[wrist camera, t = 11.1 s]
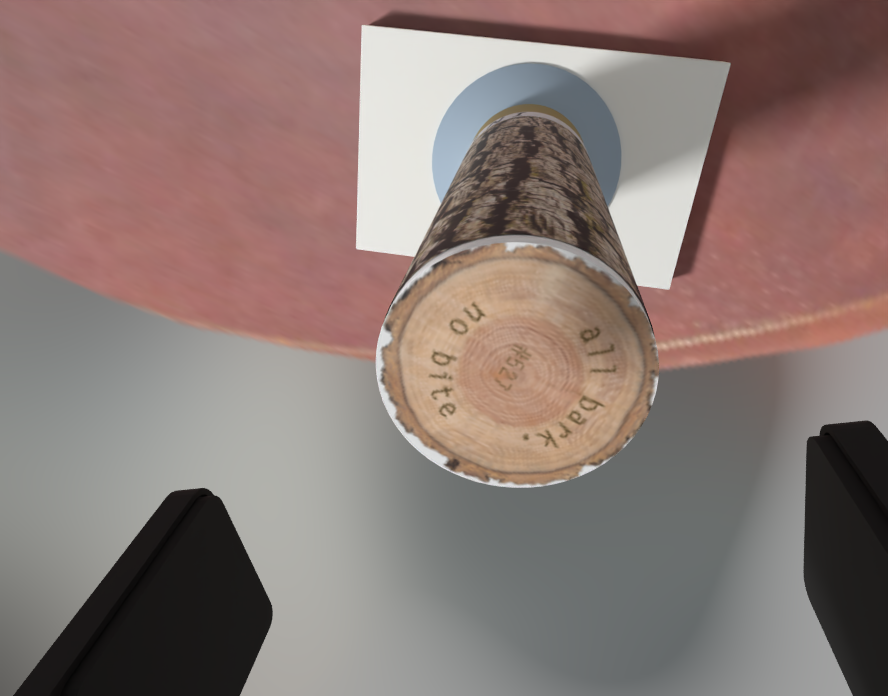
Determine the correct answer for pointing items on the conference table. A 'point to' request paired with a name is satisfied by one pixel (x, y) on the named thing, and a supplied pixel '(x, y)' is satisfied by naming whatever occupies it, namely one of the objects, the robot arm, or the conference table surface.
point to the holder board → (543, 83)
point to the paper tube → (519, 316)
